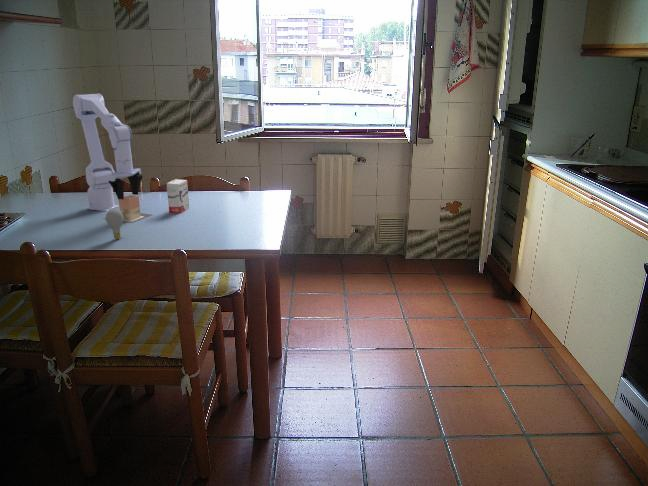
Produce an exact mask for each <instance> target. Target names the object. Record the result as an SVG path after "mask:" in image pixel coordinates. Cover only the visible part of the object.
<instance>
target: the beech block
mask: <svg viewBox="0 0 648 486" xmlns="http://www.w3.org/2000/svg"><path fill="white" fill-rule="evenodd" d="M140 207H141V206H140ZM140 207H137V208H134V209H132V210H127V209H120V208H119V211H120V212H121V213H122V214H123V217H124V220H134V219H137V218H140V217H141V214H140V213H141V208H140Z"/></svg>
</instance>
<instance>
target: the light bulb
mask: <svg viewBox="0 0 648 486" xmlns="http://www.w3.org/2000/svg"><path fill="white" fill-rule="evenodd" d="M105 218H106V220H105V221H106V223H107V224H108V226H109V227H110V228H111V230H112V233H113V234H112V235H113V238H114V239H116V240H120V239H121V237H122V236H121V227H122V226H123V223H124V222H123V220H124V217H123V214H122V213H121V212H120V209H119V210H118V209H111V210H108V212H107V213H106V215H105Z"/></svg>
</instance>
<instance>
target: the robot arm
mask: <svg viewBox="0 0 648 486" xmlns="http://www.w3.org/2000/svg"><path fill="white" fill-rule="evenodd" d="M72 106H73V111H74V114H75V118H77V119H79V120H80V122H81V126H82V130H83V134H84V138H85V141H86V146H87V150H88V154H89V159H90V163H89V164H88V165H87V166H86V167H85V181H86V183H87V185H88V186H89V187H88V189H87V192H86V194H87V195H86V196H87V202H88V208H87V210H93V211H102V212H107V211H108V212H109V211H111V210H115V209H117V208H119V204H115V196H116V197H117V200H118V199H124V196H125V194H124V186H125V180H121V179H125V178H127V179H128V180H129V184H130V190H131V193H132V195H133V196H138V195H139V192H140V191H139V190H140V189H139V188H140V184H141V183H142V182H141V181H142V179H143V174H142V168H138V167H136V168H134V164H133V156H132V149H131V141H132V140H133V132H132V128H131V127H130V126H129V125H128V124H126V123H125V124H124V123H122V122H121V121H120V119H119V118H118V117H117V116H116V115H115V114H114V113H110V112H109V110H108V108H106V105H105V99H104V96H103V95H102V94H101V93H90V94H88V93H87V94H75V95H73V98H72ZM97 118H99V119H100V124H101V126H102V127H103V128H104V129H105V130H106V131H107V133H108V137H109V140H110V143H111V144H110V145H111V148H113V153H114V161H115V169H116V171H115V170H114V168H113V165H112V164H111V163H109V162H108V161H106V159H105V156H104V153H103V148H102V144H101V140H100V137H99V136H100V135H99V131H98V128H97V124H96V119H97ZM114 192H115V196H114Z"/></svg>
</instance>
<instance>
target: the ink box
mask: <svg viewBox="0 0 648 486" xmlns="http://www.w3.org/2000/svg"><path fill="white" fill-rule="evenodd" d="M166 192H167V194H166V195H167V201H168V202H167V203H168V213H169V214H182V213H184V212H185V211H187V210H188V209H190V199H189V198H190V197H189V188H188V180H187V179H179V178H175V179H173V180H171V181H169V182H167V183H166Z"/></svg>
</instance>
